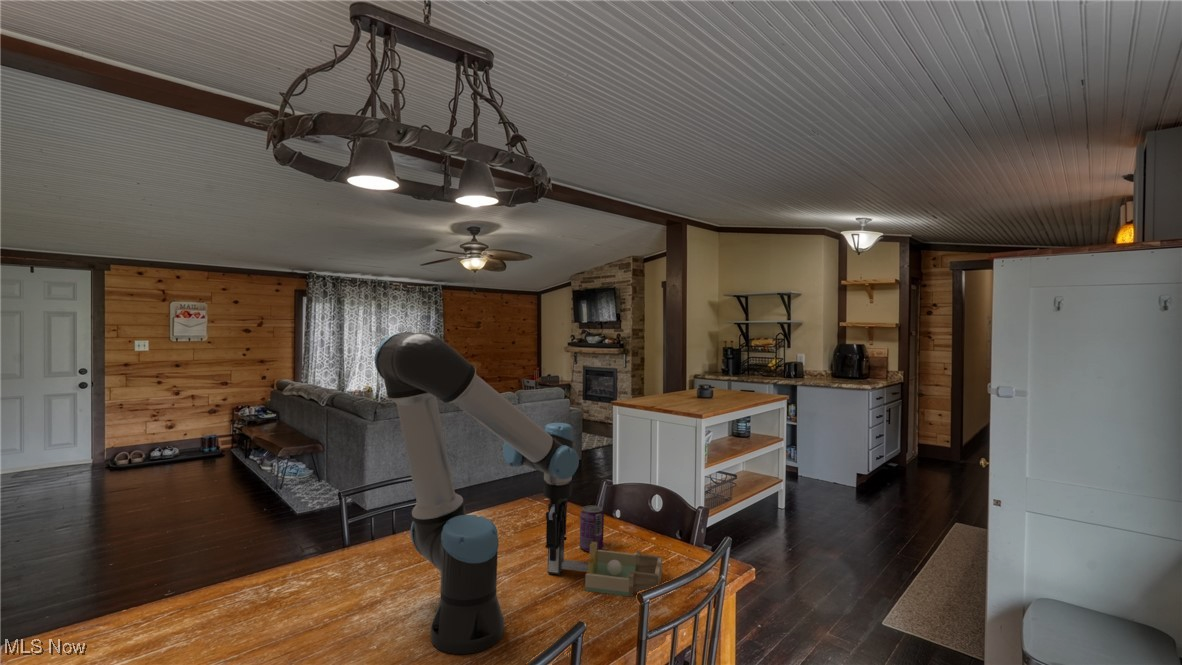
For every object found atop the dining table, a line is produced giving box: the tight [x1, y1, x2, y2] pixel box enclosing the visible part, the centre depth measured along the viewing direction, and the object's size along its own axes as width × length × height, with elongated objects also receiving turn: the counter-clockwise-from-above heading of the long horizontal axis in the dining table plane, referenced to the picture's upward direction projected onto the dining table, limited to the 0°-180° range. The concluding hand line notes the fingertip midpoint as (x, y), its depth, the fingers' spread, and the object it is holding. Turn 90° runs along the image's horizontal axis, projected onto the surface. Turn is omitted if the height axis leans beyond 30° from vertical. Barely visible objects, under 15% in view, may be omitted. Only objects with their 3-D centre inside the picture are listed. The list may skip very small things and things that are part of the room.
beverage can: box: [579, 505, 605, 553], centre depth 160 cm, size 7×7×12 cm
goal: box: [628, 550, 663, 598], centre depth 138 cm, size 16×7×5 cm, turn 168°
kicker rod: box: [547, 532, 598, 576], centre depth 142 cm, size 6×13×10 cm, turn 78°
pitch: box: [584, 549, 636, 597], centre depth 140 cm, size 16×11×4 cm
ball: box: [607, 560, 622, 576], centre depth 140 cm, size 4×4×4 cm
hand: (555, 568), depth 143 cm, fingers closed on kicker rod, 4 cm apart
